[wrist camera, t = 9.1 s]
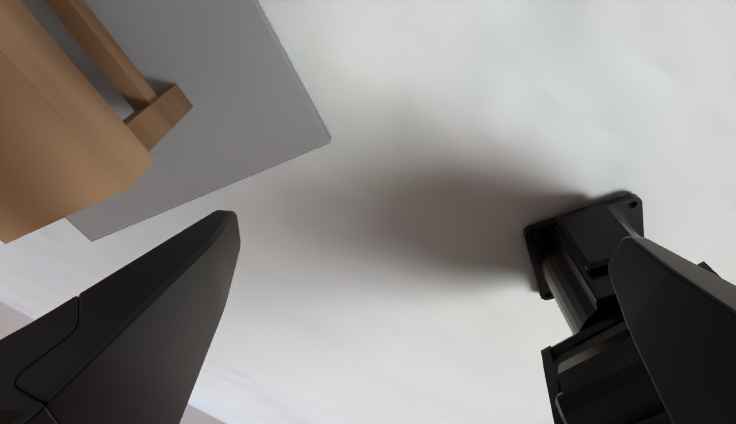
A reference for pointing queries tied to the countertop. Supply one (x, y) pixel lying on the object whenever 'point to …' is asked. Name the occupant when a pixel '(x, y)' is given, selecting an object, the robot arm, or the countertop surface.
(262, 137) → the mat
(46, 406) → the robot arm
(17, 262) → the countertop surface
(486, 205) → the countertop surface
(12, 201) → the stool
